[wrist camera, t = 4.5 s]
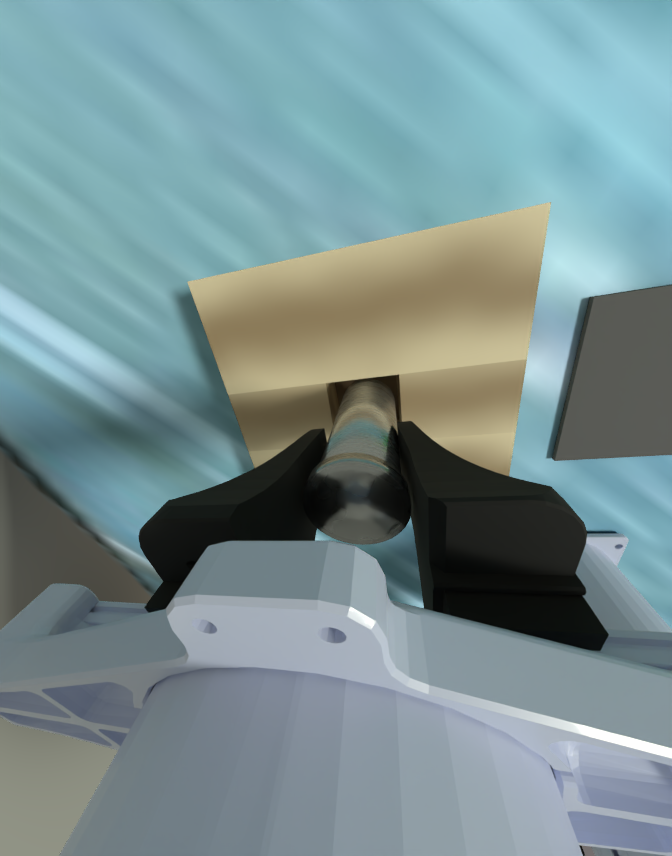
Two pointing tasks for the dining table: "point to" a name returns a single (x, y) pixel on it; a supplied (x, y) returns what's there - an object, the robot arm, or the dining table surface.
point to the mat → (621, 379)
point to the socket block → (385, 334)
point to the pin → (360, 471)
